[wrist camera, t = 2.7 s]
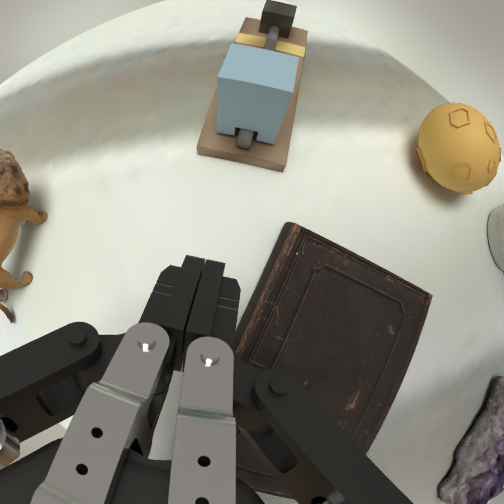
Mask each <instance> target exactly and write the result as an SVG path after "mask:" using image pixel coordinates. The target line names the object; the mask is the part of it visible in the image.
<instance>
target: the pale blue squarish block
mask: <svg viewBox="0 0 504 504" xmlns="http://www.w3.org/2000/svg"><path fill="white" fill-rule="evenodd" d="M298 61H299V57H295V56H291V55H287V54H283V53H279V52H275V51H270V50H266V49H261V48H256V47H250V46H245V45H239V44H233V43H231V46H230V48H229V50H228V53H227V55H226V57H225V60H224V62H223V65H222V67H221V70H220V72H219V75H218V84H217V126H216V132H218V133H223V134H229V135H234V134H235V131H236V127H237V128H242V129H247V130H251V131H256V132H258V135H257V141H261V142H266V143H270V144H274V143H275V141H276V138H277V135H278V132H279V130H280V127H281V124H282V121H283V119H284V116H285V113H286V110H287V108H288V105H289V102H290V99H291V97H292V94H293V90H294V84H295V78H296V72H297V67H298Z"/></svg>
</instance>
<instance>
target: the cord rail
mask: <svg viewBox="0 0 504 504" xmlns="http://www.w3.org/2000/svg"><path fill="white" fill-rule="evenodd" d="M296 8H297V6H294V5H290V4H285V3H281V2H276V1H271V0H267V1H266V3H265V6H264V8H263V11H262V17H261V20H258V19H253V18H247V17H246V18H245V20H244V22H243V25H242V27H241V29H240V32H239V34H238V36H237V38H236V41H235V43H234V44H239V45H245V46H250V47H256V48H261V49H266V50H270V51H275V52H279V53H283V54H287V55H291V56H295V57H299V61H298V67H297V72H296V78H295V84H294V90H293V94H292V97H291V99H290V102H289V105H288V108H287V110H286V113H285V116H284V119H283V121H282V124H281V127H280V130H279V132H278V135H277V138H276V141H275V143H274V144H270V143H266V142H261V141H257V135H258V132H256V131H251V130H247V129H242V128H237V127H236V131H235V134H234V135H229V134H223V133H218V132H216V126H217V89H216V92H215V95H214V97H213V100H212V103H211V106H210V108H209V111H208V114H207V117H206V120H205V123H204V126H203V129H202V132H201V135H200V138H199V141H198V144H197V152H198V154H201V155H206V156H211V157H216V158H221V159H226V160H231V161H236V162H241V163H245V164H250V165H254V166H259V167H263V168H267V169H272V170H276V171H280V172H283V170H284V168H285V166H286V161H287V155H288V150H289V144H290V138H291V132H292V126H293V120H294V114H295V108H296V102H297V96H298V90H299V84H300V78H301V71H302V65H303V59H304V53H305V46H306V39H307V33H308V31H306V30H303V29H299V28H295V27H292V23H293V20H294V16H295V12H296Z"/></svg>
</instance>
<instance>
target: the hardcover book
mask: <svg viewBox="0 0 504 504" xmlns="http://www.w3.org/2000/svg"><path fill="white" fill-rule="evenodd" d="M432 296H433V295H431V294H430V293H428V292H426V291H424V290H422V289H421V288H419V287H417V286H415V285H413V284H412V283H410V282H408V281H406V280H404V279H402V278H401V277H399V276H397V275H395V274H393V273H391V272H390V271H388V270H386V269H384V268H382V267H380V266H378V265H376V264H375V263H373V262H371V261H369V260H367V259H365V258H363V257H361V256H359V255H357V254H355V253H354V252H352V251H350V250H348V249H346V248H344V247H342V246H340V245H338V244H336V243H334V242H332V241H330V240H328V239H326V238H324V237H322V236H320V235H318V234H316V233H314V232H312V231H310V230H308V229H306V228H304V227H302V226H300V225H298V224H296V223H292V222H286V223H285V224H284V226H283V229H282V231H281V233H280V235H279V238H278V240H277V242H276V244H275V246H274V249H273V251H272V253H271V255H270V258H269V260H268V262H267V264H266V267H265V269H264V271H263V273H262V275H261V278H260V280H259V282H258V284H257V286H256V289H255V291H254V293H253V295H252V297H251V299H250V302H249V304H248V306H247V308H246V310H245V313H244V315H243V317H242V319H241V321H240V323H239V326H238V328H237V330H236V332H235V338H234V349H235V352H236V354H237V355H238V357H239V358H240V359H241V360H242V361H243V362H244V363H246V364H247V365H249V366H251V367H253V368H255V369H258V370H260V371H262V372H263V371H264V370H267V369H271V368H280V369H284V370H286V371H288V372H290V373H292V374H293V375H294V376H295V377H296V378H297V379H298V380H299V381H300V383H301V384H302V385H303V386H304V387H305V388H306V389H307V391H308V392H309V393H310V394H311V395H312V396H313V397H314V399H315V400H316V401H317V402H318V403H319V404H320V405H321V407H322V408H323V409H324V410H325V411H326V412H327V413H328V414H329V416H330V417H331V418H332V419H333V420H334V421H335V422H336V423H337V424H338V425H339V427H340V428H341V429H342V430H343V431H344V432H345V433H346V434H347V435H348V436H349V438H350V439H351V440H352V441H353V442H354V443H355V444H356V445H357V446H358V447H359V448H360V449H361V450H362V451H363V453H364V454H365V455H366V453H367V452H368V450H369V448H370V446H371V445H372V443H373V441H374V439H375V437H376V435H377V434H378V432H379V430H380V428H381V426H382V424H383V422H384V420H385V418H386V416H387V414H388V412H389V410H390V408H391V406H392V404H393V401H394V399H395V397H396V395H397V393H398V390H399V388H400V386H401V384H402V381H403V379H404V376H405V374H406V372H407V369H408V367H409V364H410V362H411V359H412V356H413V354H414V351H415V348H416V346H417V343H418V340H419V337H420V334H421V331H422V328H423V325H424V322H425V319H426V316H427V313H428V310H429V306H430V303H431V299H432ZM236 478H238V479H239V480H241V481H243V482H244V483H246V484H247V485H248V486H249V487H251V488H252V489H253V490H254V491H258V492H262V493H266V494H271V495H275V496H280V497H285V498H290V499H294V498H293V496H292V495H291V494H290V493H289V492H288V491H287V489H286V488H285V487H284V486H283V485H282V484H281V482H280V481H279V480H278V479H277V478H276V476H275V475H274V474H273V473H272V471H271V470H270V469H269V468H268V466H267V465H266V464H265V463H264V461H263V460H262V459H261V458H260V456H259V455H258V454H257V452H256V451H255V450H254V448H253V447H252V446H251V444H250V443H249V442H248V440H247V439H246V438H245V436H244V435H243V434H242V432H241V431H240V429H239V427H238V426H237V425H236Z"/></svg>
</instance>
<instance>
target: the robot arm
mask: <svg viewBox="0 0 504 504" xmlns="http://www.w3.org/2000/svg"><path fill="white" fill-rule="evenodd" d="M488 240H489V245H490V249H491V252H492V255H493V258H494V260H495V262H496V264H497V265H498V267H499V268H500V269H501V270H502V271H503V272H504V204H503V205H501V206H499V207H496V208H495V209H493V210H492V212H491V213H490V216H489V220H488ZM224 268H225V263H222V262H218V261H213V260H208V259H207V260H206V263H205V259H203V258H199V257H194V256H189V255H186V257H185V259H184V262H183V264H182V267H177V266H172V265H170V266H168V267H167V268H166V269H165V270H163V271H162V272H161V274H160V276H159V278H158V280H157V283H156V284H155V287H154V289H153V292H152V293H151V295H150V298H149V300H148V302H147V305H146V307H145V309H144V311H143V314H142V316H141V318H140V321H139V323H138V324H136V325H134V326H132V327H131V328H129V329H128V331H127V332H126V333H124V334H119V335H98V332H97V330H96V329H95V328H94V327H93V326H92V325H90V324H88V323H85V322H74V323H70V324H68V325H66V326H64V327H61V328H59V329H57V330H55V331H53V332H51V333H49V334H46V335H44V336H42V337H40V338H38V339H36V340H34V341H31V342H29V343H27V344H25V345H23V346H21V347H19V348H17V349H14V350H12V351H10V352H8V353H6V354H4V355H2V356H0V504H265V503H264V502H263V501H262V499H261V498H260V497H259V496H258V494H257V493H256V492H255V491H254V490H253V489H252V488H251V487H249V486H248V485H247V484H246V483H244V482H243V481H241V480H239V479H238V478H236V425H237V426H238V427H239V429H240V431H241V432H242V434H243V435H244V436H245V438H246V439H247V440H248V442H249V443H250V444H251V446H252V447H253V448H254V450H255V451H256V452H257V454H258V455H259V456H260V458H261V459H262V460H263V461H264V463H265V464H266V465H267V466H268V468H269V469H270V470H271V471H272V473H273V474H274V475H275V476H276V478H277V479H278V480H279V481H280V482H281V484H282V485H283V486H284V487H285V488H286V489H287V491H288V492H289V493H290V494H291V495H292V496H293V498H294V499H295V500H296V501H297V502H298V503H299V504H413V503H412V502H411V501H410V500H409V499H408V498H407V497H406V496H405V495H404V494H403V493H402V492H401V491H400V490H399V489H398V488H397V487H396V486H395V485H394V484H393V483H392V482H391V481H390V480H389V479H388V478H387V477H386V476H385V475H384V473H383V472H382V471H381V470H380V469H379V468H378V467H377V466H376V465H375V464H374V463H373V462H372V461H371V460H370V459H369V458H368V457H367V456H366V455H365V454H364V453H363V451H362V450H361V449H360V448H359V447H358V446H357V445H356V444H355V443H354V442H353V441H352V440H351V439H350V438H349V436H348V435H347V434H346V433H345V432H344V431H343V430H342V429H341V428H340V427H339V425H338V424H337V423H336V422H335V421H334V420H333V419H332V418H331V417H330V416H329V414H328V413H327V412H326V411H325V410H324V409H323V408H322V407H321V405H320V404H319V403H318V402H317V401H316V400H315V399H314V397H313V396H312V395H311V394H310V393H309V392H308V391H307V389H306V388H305V387H304V386H303V385H302V384H301V383H300V381H299V380H298V379H297V378H296V377H295V376H294V375H293V374H292V373H290V372H288V371H286V370H284V369H280V368H271V369H267V370H264V371H263V372H262V371H260V370H258V369H255V368H253V367H251V366H249V365H247V364H246V363H244V362H243V361H242V360H241V359H240V358H239V357H238V355H237V354H236V352H235V349H234V338H235V330H236V322H237V314H238V307H239V299H240V291H241V289H240V287H239V284H238V282H237V280H236V279H233V278H228V277H223V272H224ZM182 363H183V369H182V372H184V375H183V382H182V389H181V396H180V404H179V410H178V414H177V421H176V429H175V438H174V446H173V456H172V460H151V459H148V456H149V453H150V449H151V445H152V438H153V433H154V430H155V427H156V424H157V421H158V418H159V415H160V412H161V410H162V407H163V404H164V401H165V398H166V395H167V392H168V389H169V385H170V382H171V378H172V374H173V371H174V370H175V371H179V372H180V371H181V367H182ZM72 415H74V416H73V418H72V420H71V422H70V425H69V427H68V429H67V431H66V433H65V435H64V438H61V439H57V440H55V441H52V442H50V443H49V444H47V445H45V446H43V447H41V448H40V449H38V450H36V451H34V452H33V453H31V454H29V455H27V456H25V457H24V458H22V459H20V460H18V461H16V462H15V463H12V462H13V461H14V460H15V459H17V458H18V457H19V455H20V452H19V451H20V444H19V443H20V442H22V441H24V440H26V439H28V438H30V437H32V436H34V435H36V434H38V433H40V432H42V431H44V430H46V429H48V428H50V427H52V426H54V425H55V424H57V423H59V422H61V421H63V420H65V419H67V418H69V417H71V416H72ZM10 463H12V464H11V465H9V464H10ZM8 465H9V466H8Z"/></svg>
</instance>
